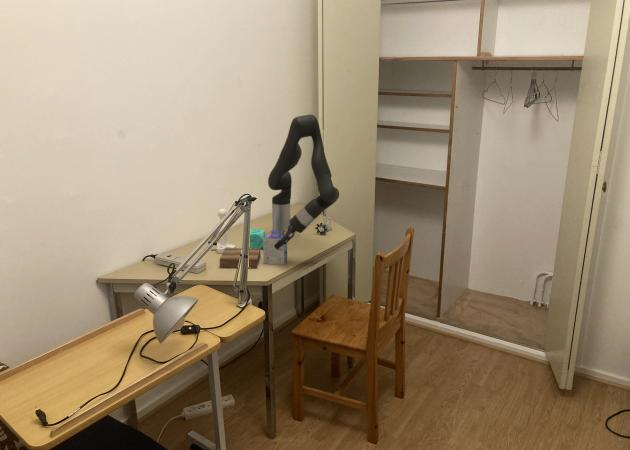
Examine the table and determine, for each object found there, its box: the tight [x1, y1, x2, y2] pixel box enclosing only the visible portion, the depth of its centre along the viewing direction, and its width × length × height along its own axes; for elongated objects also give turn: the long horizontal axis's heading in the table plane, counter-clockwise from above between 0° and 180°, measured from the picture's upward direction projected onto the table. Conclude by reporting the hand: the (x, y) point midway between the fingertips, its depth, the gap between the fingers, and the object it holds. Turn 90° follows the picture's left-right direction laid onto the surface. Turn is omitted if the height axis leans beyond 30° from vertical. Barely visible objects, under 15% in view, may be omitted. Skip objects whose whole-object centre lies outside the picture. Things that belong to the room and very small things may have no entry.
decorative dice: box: [249, 228, 266, 250], centre depth 256 cm, size 8×8×8 cm
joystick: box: [211, 208, 236, 254], centre depth 248 cm, size 11×8×20 cm
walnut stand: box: [219, 247, 261, 269], centre depth 237 cm, size 14×16×4 cm
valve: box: [314, 216, 332, 236], centre depth 279 cm, size 7×7×12 cm
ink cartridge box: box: [262, 230, 288, 266], centre depth 236 cm, size 10×6×14 cm, turn 79°
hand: (276, 244), depth 235 cm, fingers open, 8 cm apart
